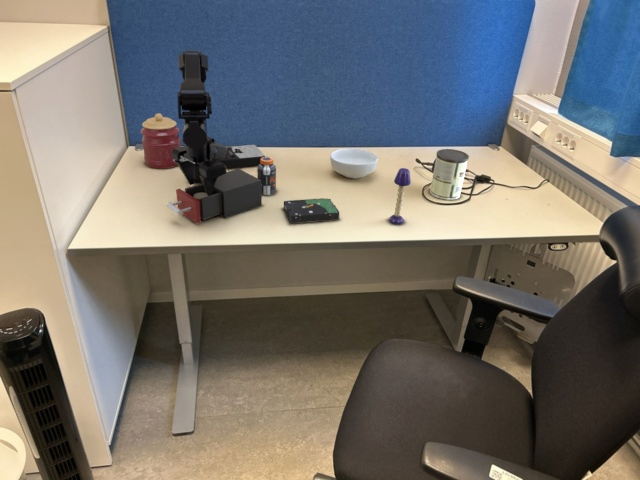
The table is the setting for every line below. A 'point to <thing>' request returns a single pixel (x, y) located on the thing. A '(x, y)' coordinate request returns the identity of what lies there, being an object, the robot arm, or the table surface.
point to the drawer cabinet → (239, 192)
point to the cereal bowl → (353, 162)
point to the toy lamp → (400, 194)
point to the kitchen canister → (160, 141)
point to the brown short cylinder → (200, 195)
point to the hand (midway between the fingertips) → (200, 189)
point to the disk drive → (310, 210)
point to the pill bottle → (267, 175)
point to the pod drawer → (197, 203)
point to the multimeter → (241, 157)
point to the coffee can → (448, 174)
